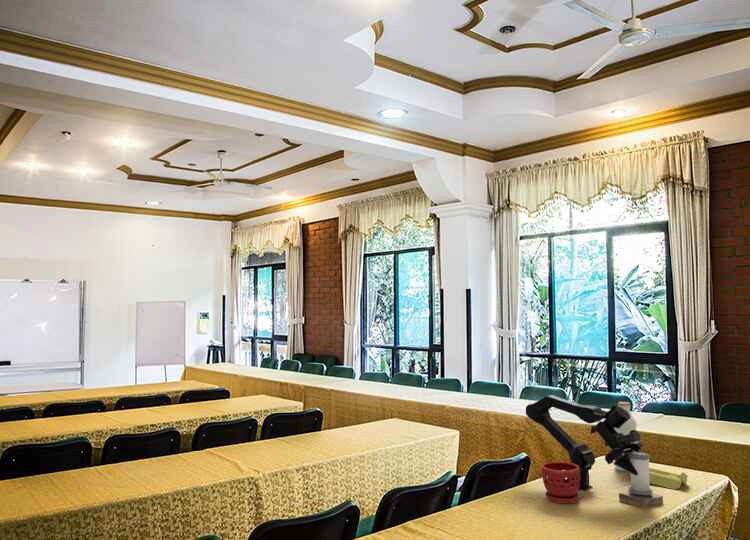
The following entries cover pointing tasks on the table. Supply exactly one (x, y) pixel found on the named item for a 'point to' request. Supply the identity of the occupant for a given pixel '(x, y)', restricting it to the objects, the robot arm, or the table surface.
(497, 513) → the table surface
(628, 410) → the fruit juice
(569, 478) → the plant pot
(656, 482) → the plastic component
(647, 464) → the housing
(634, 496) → the stand
